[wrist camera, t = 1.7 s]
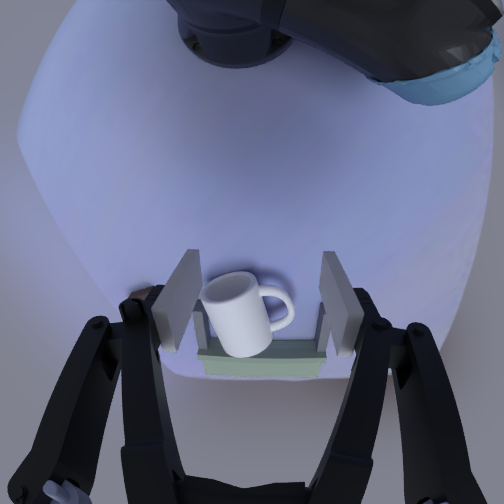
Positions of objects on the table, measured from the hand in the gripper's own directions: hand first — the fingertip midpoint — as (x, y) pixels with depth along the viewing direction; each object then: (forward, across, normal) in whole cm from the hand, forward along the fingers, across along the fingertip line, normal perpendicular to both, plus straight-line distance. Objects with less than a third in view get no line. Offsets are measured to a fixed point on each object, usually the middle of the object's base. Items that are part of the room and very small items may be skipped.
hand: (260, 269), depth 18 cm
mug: (+20, -2, -15) cm, 25 cm away
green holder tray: (+19, 0, -24) cm, 31 cm away
